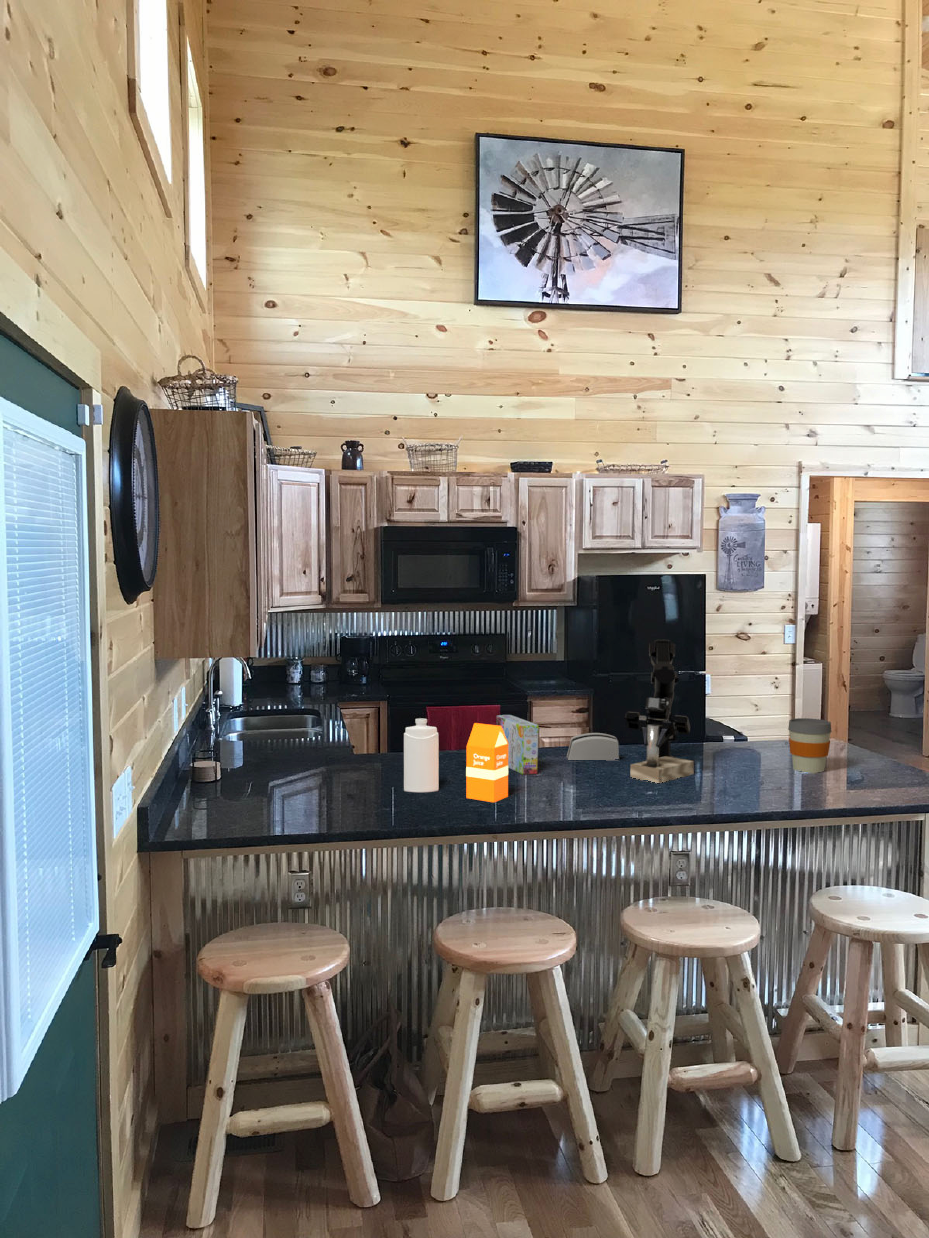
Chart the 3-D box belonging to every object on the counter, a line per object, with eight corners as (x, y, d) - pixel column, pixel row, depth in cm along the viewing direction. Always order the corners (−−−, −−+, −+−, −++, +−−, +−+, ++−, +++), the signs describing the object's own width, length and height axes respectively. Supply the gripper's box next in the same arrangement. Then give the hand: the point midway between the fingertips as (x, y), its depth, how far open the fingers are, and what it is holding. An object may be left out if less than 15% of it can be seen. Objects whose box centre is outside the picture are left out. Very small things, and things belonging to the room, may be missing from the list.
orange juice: (493, 802, 262) (494, 728, 261) (465, 797, 267) (466, 724, 265) (508, 796, 269) (508, 723, 267) (480, 792, 273) (481, 720, 272)
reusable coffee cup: (817, 776, 294) (818, 726, 293) (779, 769, 303) (780, 721, 302) (838, 770, 302) (839, 721, 301) (800, 763, 311) (801, 716, 310)
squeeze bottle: (403, 788, 277) (403, 792, 272) (403, 717, 276) (403, 721, 271) (438, 787, 278) (438, 792, 273) (438, 717, 276) (438, 720, 271)
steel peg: (651, 765, 292) (651, 723, 291) (661, 767, 290) (661, 725, 289) (644, 767, 290) (644, 725, 289) (654, 769, 287) (654, 726, 286)
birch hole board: (665, 768, 303) (665, 755, 303) (693, 774, 296) (693, 760, 296) (630, 777, 291) (630, 764, 291) (658, 783, 284) (658, 770, 283)
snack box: (539, 774, 296) (539, 724, 295) (522, 775, 294) (522, 725, 293) (510, 760, 316) (510, 713, 315) (494, 761, 314) (494, 714, 313)
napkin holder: (615, 756, 321) (618, 730, 317) (619, 764, 317) (622, 737, 313) (565, 757, 319) (567, 730, 315) (568, 765, 315) (570, 738, 311)
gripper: (626, 685, 296) (615, 727, 287) (688, 688, 288) (679, 732, 279) (633, 707, 303) (622, 749, 294) (694, 711, 295) (685, 754, 286)
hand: (651, 745), depth 288 cm, fingers closed on steel peg, 3 cm apart
